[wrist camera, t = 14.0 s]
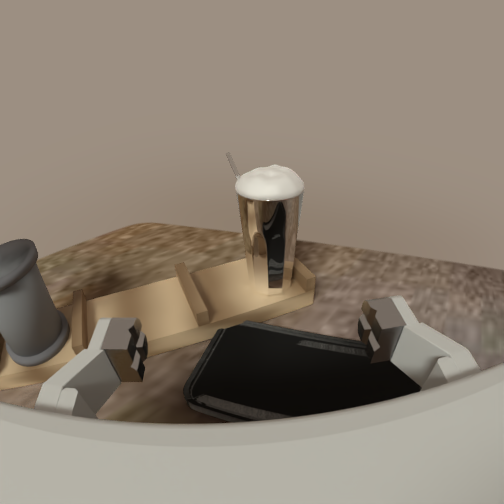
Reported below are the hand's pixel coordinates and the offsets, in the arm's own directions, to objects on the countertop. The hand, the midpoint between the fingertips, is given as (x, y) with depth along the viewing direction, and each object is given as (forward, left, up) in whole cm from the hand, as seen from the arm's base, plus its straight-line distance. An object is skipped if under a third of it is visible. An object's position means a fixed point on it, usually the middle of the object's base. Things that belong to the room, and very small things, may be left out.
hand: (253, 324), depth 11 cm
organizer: (+4, -11, -9) cm, 15 cm away
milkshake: (-6, -11, -8) cm, 14 cm away
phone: (-5, -1, -9) cm, 11 cm away
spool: (+13, -11, -7) cm, 19 cm away
